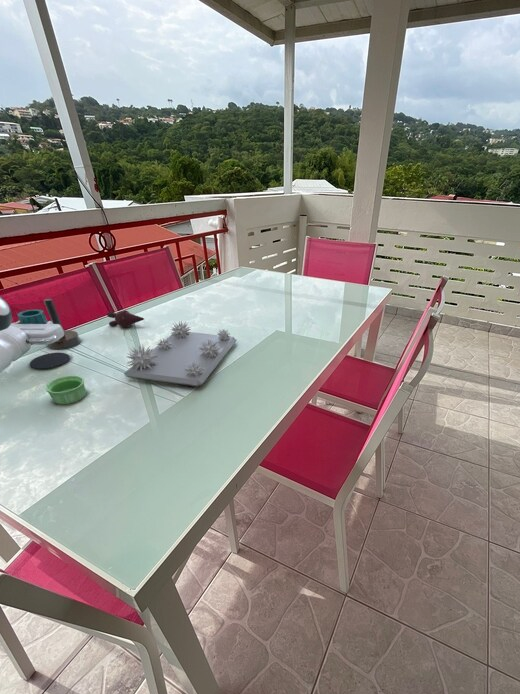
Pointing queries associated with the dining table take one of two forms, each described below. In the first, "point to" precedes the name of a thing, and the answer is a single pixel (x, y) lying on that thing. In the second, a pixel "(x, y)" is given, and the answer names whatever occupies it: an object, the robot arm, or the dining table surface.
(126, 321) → the icecream
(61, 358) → the coaster
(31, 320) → the teal ribbed hollow cylinder
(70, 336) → the holder
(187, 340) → the decorative tray
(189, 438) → the dining table surface
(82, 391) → the ramekin
